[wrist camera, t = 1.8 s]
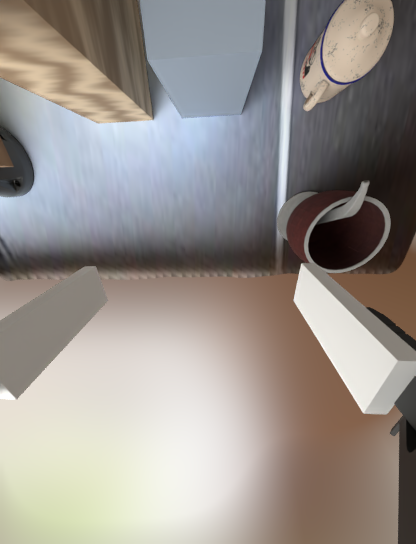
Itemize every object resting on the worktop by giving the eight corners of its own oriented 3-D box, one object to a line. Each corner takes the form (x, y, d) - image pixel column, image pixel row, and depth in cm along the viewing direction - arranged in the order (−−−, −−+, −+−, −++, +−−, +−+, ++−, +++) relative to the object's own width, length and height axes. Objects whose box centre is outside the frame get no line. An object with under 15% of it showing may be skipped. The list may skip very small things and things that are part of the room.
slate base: (181, 118, 37) (147, 60, 19) (172, -6, 30) (101, -286, 12) (240, 114, 36) (262, 50, 18) (245, -14, 29) (288, -326, 11)
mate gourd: (330, 239, 46) (399, 276, 29) (275, 249, 49) (307, 289, 31) (336, 173, 40) (430, 167, 22) (271, 187, 42) (310, 193, 24)
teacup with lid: (323, 21, 30) (379, -63, 20) (362, 57, 32) (432, -2, 21) (277, 104, 35) (301, 72, 25) (312, 132, 37) (349, 113, 26)
